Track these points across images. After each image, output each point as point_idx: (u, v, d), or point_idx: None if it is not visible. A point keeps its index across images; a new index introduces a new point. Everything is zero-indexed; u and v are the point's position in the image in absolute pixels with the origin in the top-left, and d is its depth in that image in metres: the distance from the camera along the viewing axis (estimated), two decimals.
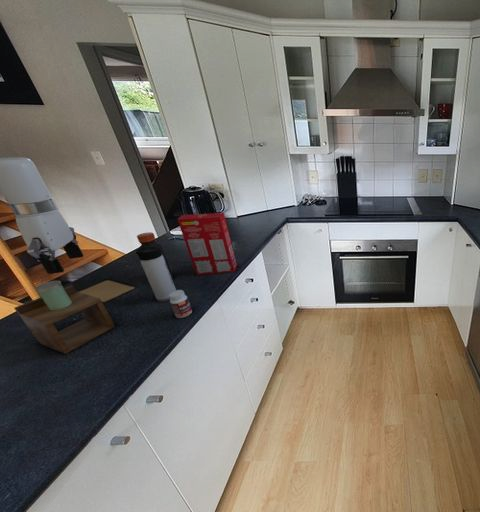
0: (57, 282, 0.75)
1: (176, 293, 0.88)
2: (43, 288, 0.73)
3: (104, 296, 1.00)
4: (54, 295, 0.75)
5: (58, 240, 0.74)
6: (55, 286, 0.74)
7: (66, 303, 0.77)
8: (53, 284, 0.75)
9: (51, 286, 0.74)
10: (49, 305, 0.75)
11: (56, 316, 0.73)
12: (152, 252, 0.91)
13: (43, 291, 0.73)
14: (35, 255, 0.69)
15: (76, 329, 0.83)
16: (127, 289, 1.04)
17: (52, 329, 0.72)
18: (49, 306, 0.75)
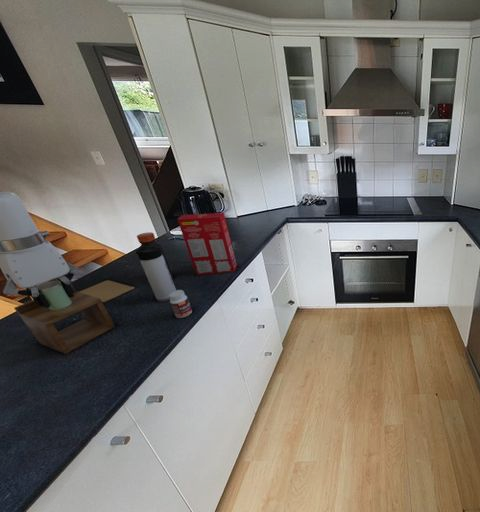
0: (57, 282, 0.75)
1: (176, 293, 0.88)
2: (43, 288, 0.73)
3: (104, 296, 1.00)
4: (54, 295, 0.75)
5: (32, 278, 0.70)
6: (55, 286, 0.74)
7: (66, 303, 0.77)
8: (53, 284, 0.75)
9: (51, 286, 0.74)
10: None
11: (56, 316, 0.73)
12: (152, 252, 0.91)
13: (43, 291, 0.73)
14: None
15: (76, 329, 0.83)
16: (127, 289, 1.04)
17: (52, 329, 0.72)
18: None
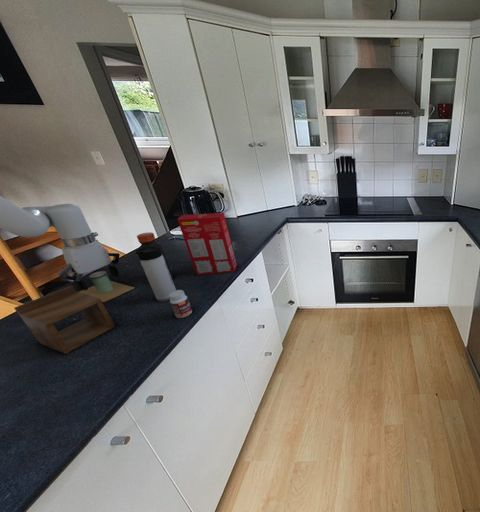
0: (104, 272, 1.01)
1: (176, 293, 0.88)
2: (95, 276, 0.99)
3: (104, 296, 1.00)
4: (102, 282, 1.00)
5: (86, 267, 0.95)
6: (103, 275, 1.00)
7: (110, 288, 1.03)
8: (101, 274, 1.00)
9: (100, 275, 0.99)
10: (98, 289, 1.00)
11: (56, 316, 0.73)
12: (152, 252, 0.91)
13: (95, 279, 0.98)
14: (63, 277, 0.91)
15: (76, 329, 0.83)
16: (127, 289, 1.04)
17: (52, 329, 0.72)
18: (98, 290, 1.01)
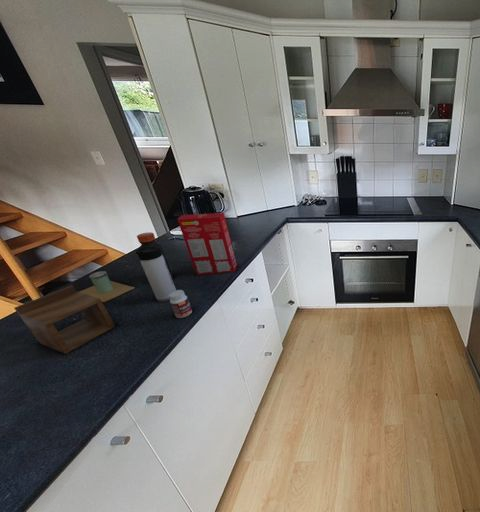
0: (104, 272, 1.01)
1: (176, 293, 0.88)
2: (95, 276, 0.99)
3: (104, 296, 1.00)
4: (102, 282, 1.00)
5: None
6: (103, 275, 1.00)
7: (110, 288, 1.03)
8: (101, 274, 1.00)
9: (100, 275, 0.99)
10: (98, 289, 1.00)
11: (56, 316, 0.73)
12: (152, 252, 0.91)
13: (95, 279, 0.98)
14: None
15: (76, 329, 0.83)
16: (127, 289, 1.04)
17: (52, 329, 0.72)
18: (98, 290, 1.01)
